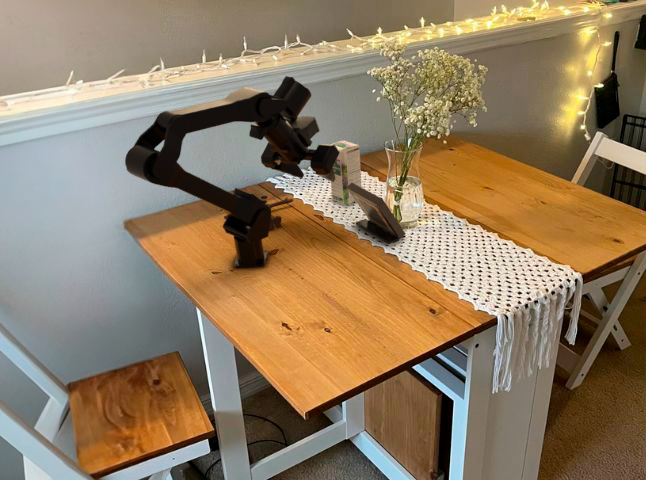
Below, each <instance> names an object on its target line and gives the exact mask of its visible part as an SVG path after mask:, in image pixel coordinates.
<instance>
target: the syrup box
mask: <svg viewBox="0 0 646 480" xmlns="http://www.w3.org/2000/svg"><path fill="white" fill-rule="evenodd" d="M330 145H335V146H336V147H337V149H338V150H339V152H340V153H339V155H338V157H337V159H336V161H335V163H334V165H333V170H334V174H335V181H334V182H331V181H330V188H331V200H332V201H333V202H338V203H340V204H343V205H346V206H347V205H349V204H352V203H354V202H356V201H355V199H354V198H353V197H352V195H351V194H350V192H349V191H348V189H347V188H346V187H347V186H348V185H349V184H350V183H351V182H352V183H354V184H356V185H358V186H359V187H361V188H363V187H362V170H361V169H362V167H361V153H360V152H361V151H360V144H356V143H353V142H350V141H347V140H338V141H336V142H333V143H331V144H330Z"/></svg>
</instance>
